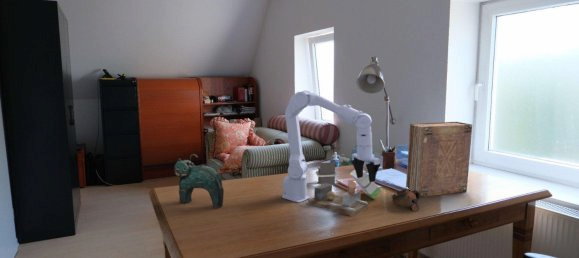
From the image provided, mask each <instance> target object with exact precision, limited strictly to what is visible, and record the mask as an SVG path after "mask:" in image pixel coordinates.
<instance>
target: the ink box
mask: <svg viewBox="0 0 579 258" xmlns="http://www.w3.org/2000/svg"><path fill="white" fill-rule="evenodd" d="M349 175H350V176H351V177H352V179H353V180H355V181H356V184H357V185H358V186H359V188H361V190H362V191H363V192H364V194H366V195H367V196H368V197H370V198H371V199H375V198H376V197H377V196H378V195H380V193H382V190H381V188H380V187H379V186H378V185H377V184H376V183H375V181H374V182H370V181H369V175H368V172H367V170H364V169H363V177H361V178H357V175H356V171H355V169H353V170H352V171H351V172H350V173H349Z"/></svg>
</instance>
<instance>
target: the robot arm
mask: <svg viewBox="0 0 579 258" xmlns="http://www.w3.org/2000/svg"><path fill="white" fill-rule="evenodd" d="M308 106H309V107H313V106H314V107H315V106H318V107H321V108H323V109H325V110H328V111H330V112H332V113H335V114H336V115H337V118H338V119H340V120H341V121H344V122H346V123H348V124H350V125H352V126H354V125H355V127H356V150H357V153H356V152H354V153H352V154H351V159H352V160H350V163H351V164H352V166H353V170H355V171H356V175H357V178H361V177H363V170H364V165H365V167H366V169H367V170H366V171H367V174H368V175H369V181H370V182H374V183H375V182H376V178H377V174H378V171H379V168H380V167H381V162H380V158H378V157H375V154H373V134H372V126H371V125H372V122H373V121H372V117H371V116H370V115H369V114H368V113H367V112H363V111H362V110H357V109H355V108H353V107H352V105H350V104H342V105H340V104H337V103H335V102H333V101H331V100H329V99H327V98H325V97H324V96H321V95H320V94H317V93H315V92H311V91H309V90H302V91H297V92H296V93H294V94H293V95H292V96H291V97H290V100H289V103H288V104H287V107H286V109H285V111H284V113H285V125H286V131H287V140H288V149H289V159H288V168H287V174H288V175H286V176H285V177H284V178H283V181H282V196H281V198H282V199H285V200H288V201H292V202H295V203H302V202H304V201H306V200H307V201H308V200H309V199H312V197H311V196H310V195H307V175H306V172H307V171H308V168H309V166H308V163H307V161H306V159H305V155H304V154H303V148H302V138H301V127H300V117H299V115H300V114H301V112H302V111H303V110H304V109H305V108H307V107H308ZM365 162H367V163H366V164H365Z"/></svg>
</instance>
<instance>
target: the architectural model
mask: <svg viewBox="0 0 579 258" xmlns="http://www.w3.org/2000/svg"><path fill="white" fill-rule="evenodd" d="M319 165H320V166H319V167H317V168H318V170H316V171H315V174H316V176H317V182H318V183H320V185H322V184H325V183H328V184H332V186H335V184H336V183H335V182H336V177H338V176H339V174H338V173H337V172H336V162H335V161H334V160H333V159H331V162H320V163H319Z"/></svg>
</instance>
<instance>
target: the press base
mask: <svg viewBox="0 0 579 258" xmlns="http://www.w3.org/2000/svg"><path fill="white" fill-rule="evenodd" d="M313 188H314V194H313V196H314V197H311V198H309V199H307V204H309V205H312V206H315V207H319V208H322V209H326V210H329V211H333V212H336V213H338V214H339V213H340V214H343V215H347V216H350V217H354V216H355V215H357V214H359V213H360V212H363V211H364V210H366V209H368V208H369V202H367V201H364V200H361V199H360V204H358V205H356V206H354V207H352V208H349V207H345V206H342V199H343V195H342V196H339V195H336V197H335V199H334V200H329V199H328V198H327V193H328V192H330V191H333V185H332V184H328V183H325V184H322V185H321V184H319V185H318V186H315V187H313Z"/></svg>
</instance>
